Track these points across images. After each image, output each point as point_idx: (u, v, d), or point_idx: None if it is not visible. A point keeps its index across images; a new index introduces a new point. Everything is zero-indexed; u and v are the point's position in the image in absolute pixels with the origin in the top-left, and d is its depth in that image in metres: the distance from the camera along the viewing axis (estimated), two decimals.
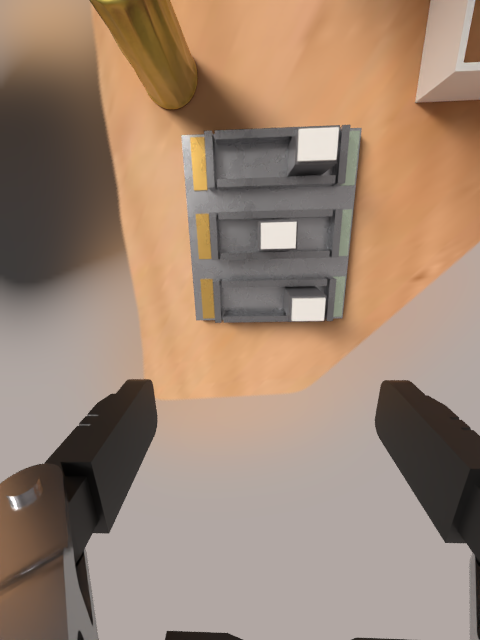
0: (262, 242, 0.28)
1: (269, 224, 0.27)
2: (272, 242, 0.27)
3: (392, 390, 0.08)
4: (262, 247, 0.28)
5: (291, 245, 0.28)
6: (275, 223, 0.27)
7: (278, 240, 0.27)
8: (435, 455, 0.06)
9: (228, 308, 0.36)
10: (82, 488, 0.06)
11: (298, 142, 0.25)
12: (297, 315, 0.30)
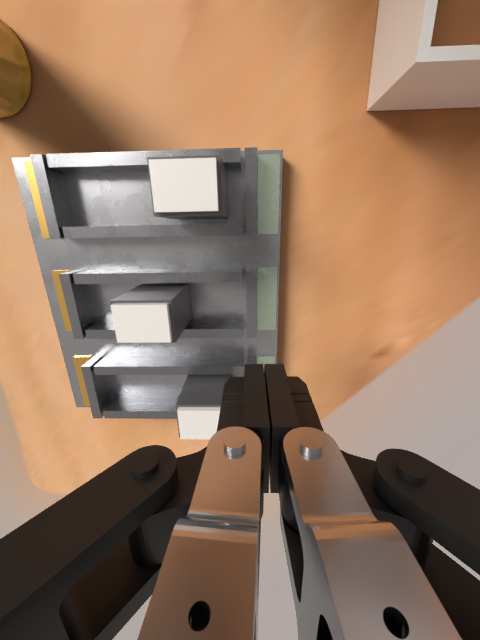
0: (117, 333, 0.17)
1: (124, 307, 0.17)
2: (133, 333, 0.17)
3: (265, 372, 0.10)
4: (119, 340, 0.18)
5: (163, 338, 0.17)
6: (133, 306, 0.17)
7: (142, 331, 0.17)
8: (269, 421, 0.08)
9: (117, 393, 0.26)
10: (262, 449, 0.07)
11: (152, 182, 0.15)
12: (187, 432, 0.20)
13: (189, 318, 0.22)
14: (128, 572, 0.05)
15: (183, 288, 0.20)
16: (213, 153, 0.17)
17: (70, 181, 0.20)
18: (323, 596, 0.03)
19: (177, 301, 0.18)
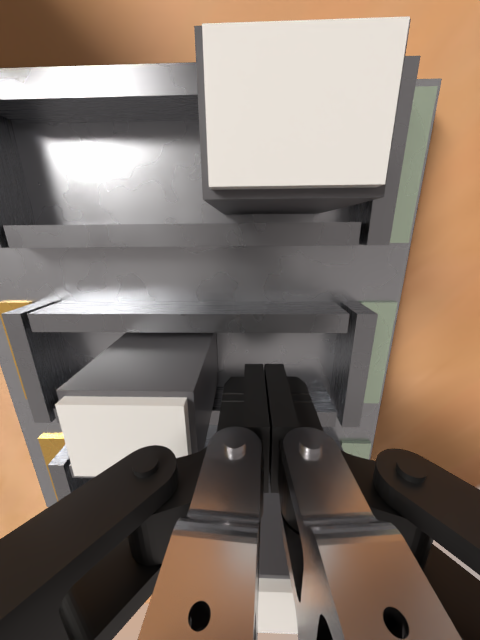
0: (74, 459, 0.08)
1: (86, 410, 0.07)
2: (108, 460, 0.08)
3: (265, 372, 0.10)
4: (78, 472, 0.08)
5: None
6: (107, 408, 0.07)
7: None
8: (269, 421, 0.08)
9: None
10: (262, 449, 0.07)
11: (206, 100, 0.05)
12: None
13: (215, 387, 0.13)
14: (127, 572, 0.05)
15: (210, 343, 0.11)
16: None
17: (25, 140, 0.11)
18: (323, 596, 0.03)
19: (202, 380, 0.09)
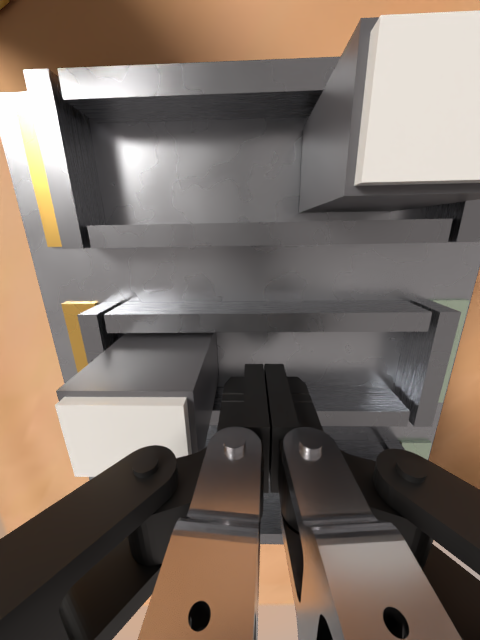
0: (75, 460, 0.08)
1: (86, 411, 0.07)
2: (109, 460, 0.08)
3: (265, 372, 0.10)
4: (78, 472, 0.08)
5: None
6: (107, 408, 0.07)
7: None
8: (269, 421, 0.08)
9: None
10: (262, 449, 0.07)
11: (367, 94, 0.05)
12: None
13: (215, 387, 0.13)
14: (128, 572, 0.05)
15: (209, 343, 0.11)
16: None
17: (101, 140, 0.11)
18: (323, 596, 0.03)
19: (202, 379, 0.09)
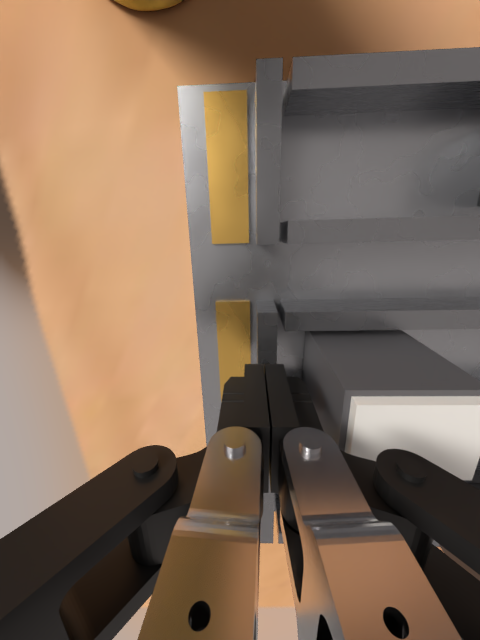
0: None
1: (389, 411, 0.07)
2: None
3: (265, 372, 0.10)
4: None
5: (458, 473, 0.08)
6: (412, 408, 0.07)
7: None
8: (269, 421, 0.08)
9: None
10: (262, 449, 0.07)
11: None
12: None
13: None
14: (127, 572, 0.05)
15: None
16: None
17: (285, 133, 0.10)
18: (323, 596, 0.03)
19: None
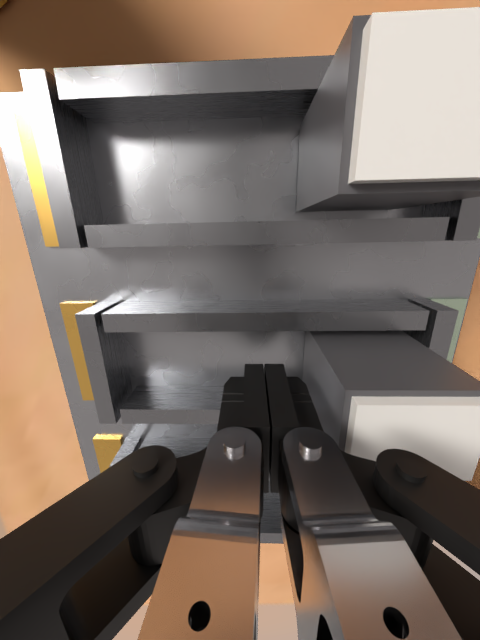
0: None
1: (389, 411, 0.07)
2: None
3: (265, 372, 0.10)
4: None
5: (458, 474, 0.08)
6: (412, 408, 0.07)
7: None
8: (269, 421, 0.08)
9: None
10: (262, 449, 0.07)
11: (360, 92, 0.05)
12: None
13: None
14: (127, 573, 0.05)
15: None
16: None
17: (98, 139, 0.11)
18: (323, 596, 0.03)
19: None
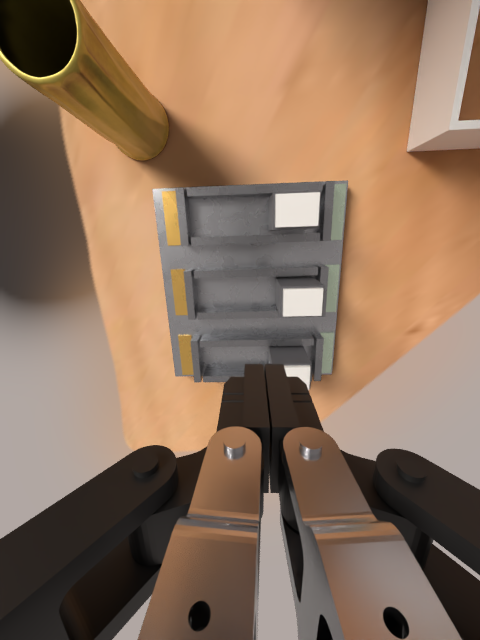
0: (285, 309, 0.25)
1: (293, 291, 0.24)
2: (296, 309, 0.25)
3: (265, 372, 0.10)
4: (284, 314, 0.25)
5: (317, 313, 0.25)
6: (299, 290, 0.24)
7: (302, 307, 0.25)
8: (269, 421, 0.08)
9: (209, 364, 0.34)
10: (262, 449, 0.07)
11: (275, 207, 0.22)
12: None
13: None
14: (127, 572, 0.05)
15: (315, 279, 0.28)
16: (304, 185, 0.25)
17: (192, 204, 0.28)
18: (323, 596, 0.03)
19: None
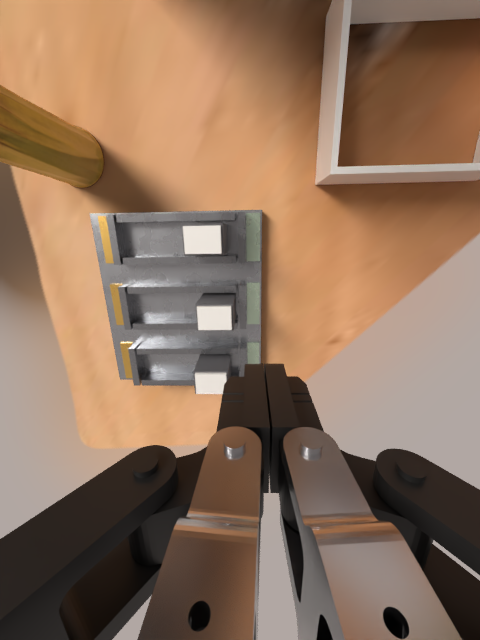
0: (199, 324, 0.28)
1: (205, 308, 0.28)
2: (209, 324, 0.28)
3: (265, 372, 0.10)
4: (199, 328, 0.29)
5: (227, 327, 0.28)
6: (210, 307, 0.28)
7: (214, 322, 0.28)
8: (269, 421, 0.08)
9: (150, 369, 0.37)
10: (262, 449, 0.07)
11: (184, 237, 0.26)
12: (201, 389, 0.31)
13: (235, 316, 0.33)
14: (127, 572, 0.05)
15: (234, 296, 0.31)
16: (218, 215, 0.29)
17: (126, 227, 0.31)
18: (323, 596, 0.03)
19: None
